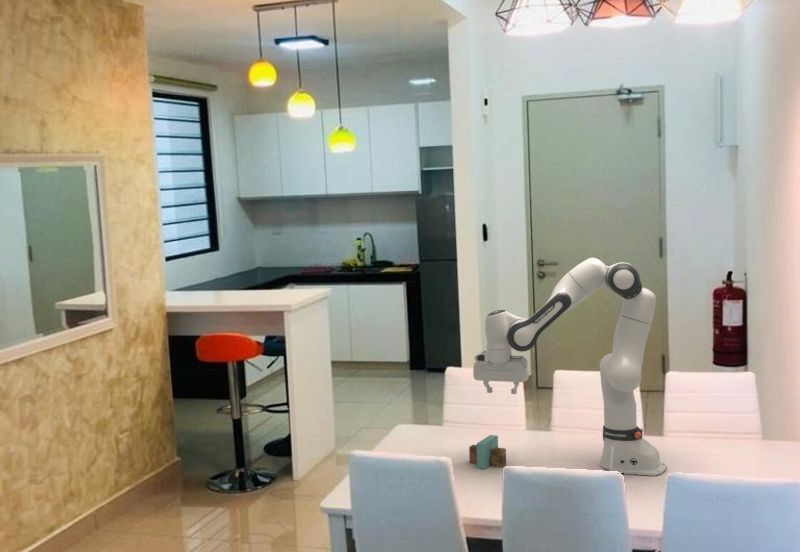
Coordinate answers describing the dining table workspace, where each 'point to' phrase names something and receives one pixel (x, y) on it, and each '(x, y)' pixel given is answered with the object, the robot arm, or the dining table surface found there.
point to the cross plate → (486, 451)
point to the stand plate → (497, 456)
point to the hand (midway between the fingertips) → (501, 393)
